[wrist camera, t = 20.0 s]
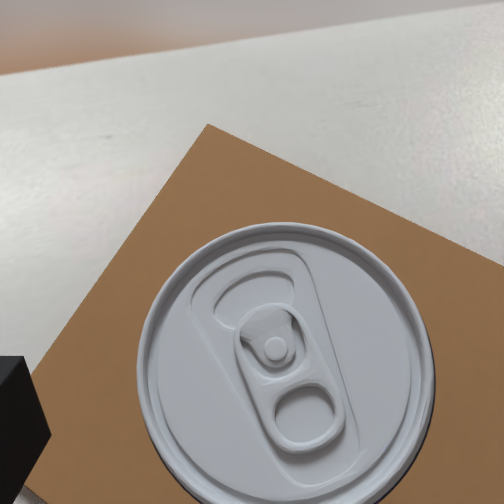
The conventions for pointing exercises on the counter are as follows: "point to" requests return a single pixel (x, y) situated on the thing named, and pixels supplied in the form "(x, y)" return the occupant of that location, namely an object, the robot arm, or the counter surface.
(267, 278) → the beverage can
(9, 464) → the robot arm
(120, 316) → the cork mat
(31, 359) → the counter surface
